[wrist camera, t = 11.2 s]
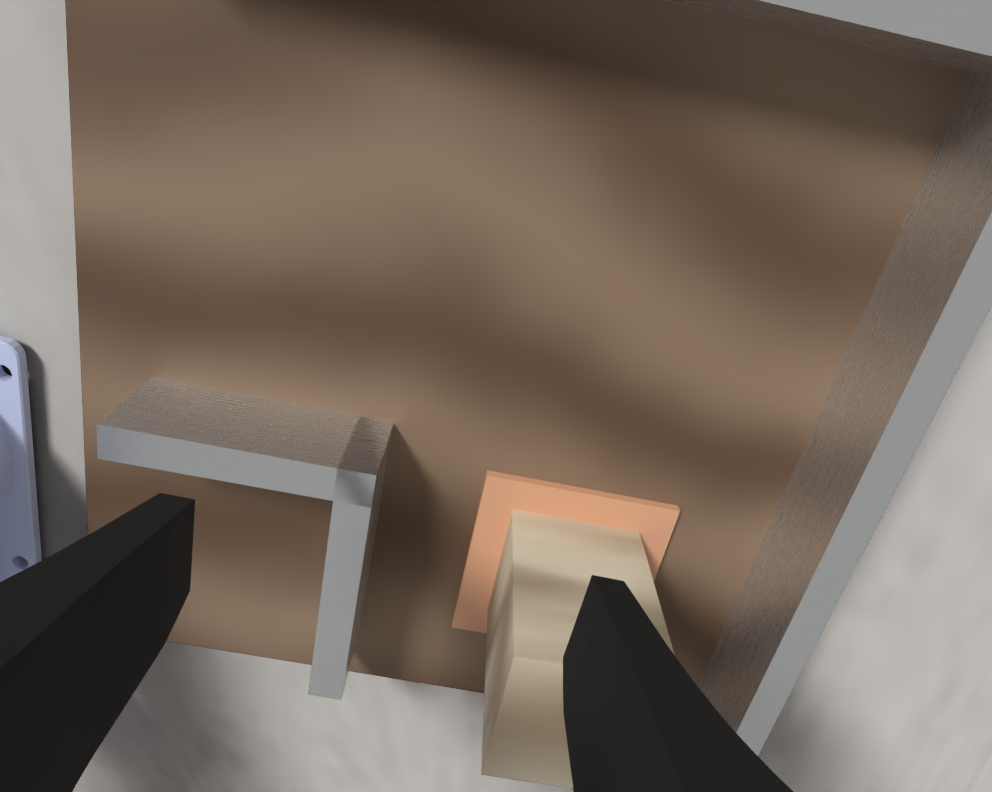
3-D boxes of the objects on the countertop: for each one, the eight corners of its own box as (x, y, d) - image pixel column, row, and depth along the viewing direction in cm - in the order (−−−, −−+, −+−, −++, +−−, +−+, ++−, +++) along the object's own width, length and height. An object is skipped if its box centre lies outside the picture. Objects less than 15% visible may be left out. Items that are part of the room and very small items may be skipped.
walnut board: (738, 713, 27) (746, 736, 26) (107, 608, 25) (92, 629, 24) (1081, 6, 17) (1114, 2, 16) (81, -242, 15) (54, -262, 14)
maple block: (605, 629, 23) (635, 797, 18) (487, 609, 23) (481, 774, 18) (639, 531, 22) (682, 683, 16) (512, 509, 22) (513, 656, 16)
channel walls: (725, 690, 25) (753, 765, 22) (151, 593, 23) (104, 661, 21) (1030, 36, 16) (1135, 28, 14) (153, -177, 15) (74, -235, 12)
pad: (624, 650, 24) (625, 656, 24) (452, 620, 24) (451, 627, 24) (677, 505, 22) (680, 511, 21) (487, 470, 21) (486, 475, 21)
